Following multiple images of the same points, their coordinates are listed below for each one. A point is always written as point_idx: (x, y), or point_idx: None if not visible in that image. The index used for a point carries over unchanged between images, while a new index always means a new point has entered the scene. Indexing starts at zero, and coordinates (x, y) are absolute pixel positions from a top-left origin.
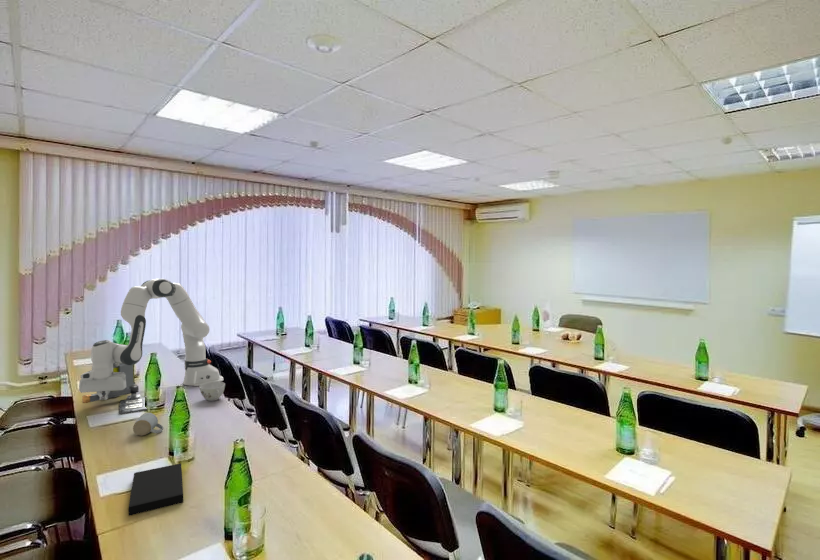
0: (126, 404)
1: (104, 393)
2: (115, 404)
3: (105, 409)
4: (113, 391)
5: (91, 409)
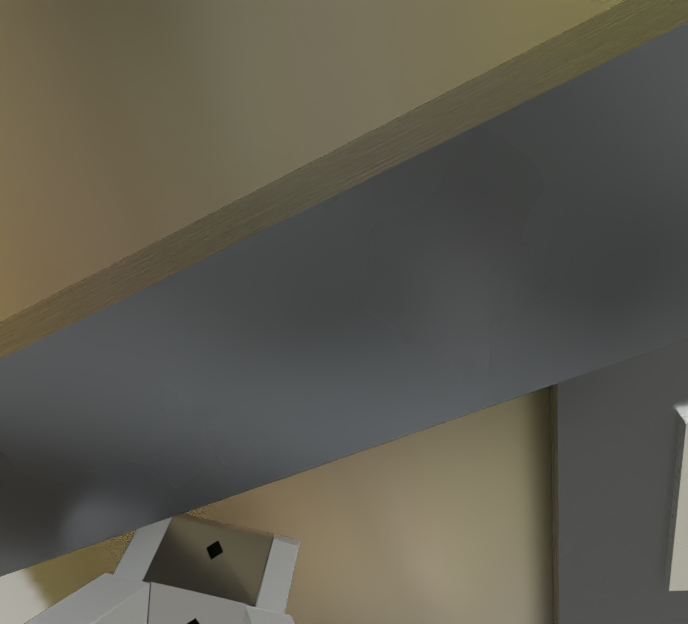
0: (677, 593)
1: (145, 520)
2: None
3: (338, 583)
4: (401, 435)
5: None
